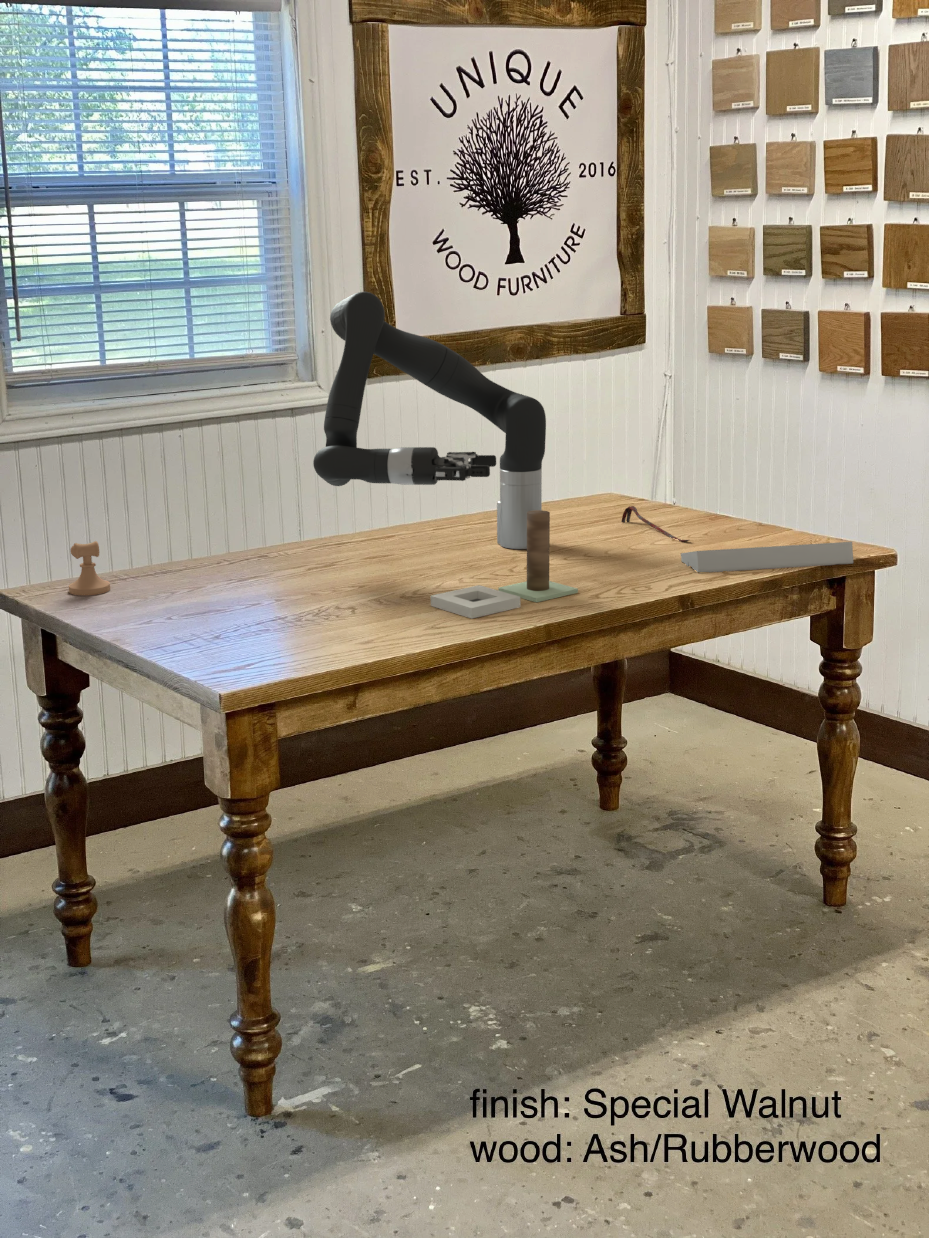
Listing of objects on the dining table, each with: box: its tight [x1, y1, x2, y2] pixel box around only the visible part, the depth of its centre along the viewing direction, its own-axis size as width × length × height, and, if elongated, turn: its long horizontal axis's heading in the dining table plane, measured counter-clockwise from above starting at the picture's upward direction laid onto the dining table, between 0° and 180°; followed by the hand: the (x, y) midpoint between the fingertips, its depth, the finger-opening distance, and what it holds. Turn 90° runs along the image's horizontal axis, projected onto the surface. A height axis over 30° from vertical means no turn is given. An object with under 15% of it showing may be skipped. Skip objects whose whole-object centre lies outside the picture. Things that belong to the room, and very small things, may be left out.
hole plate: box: [430, 584, 521, 620], centre depth 274 cm, size 12×12×2 cm
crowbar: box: [621, 505, 690, 543], centre depth 335 cm, size 26×2×5 cm, turn 26°
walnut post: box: [526, 509, 551, 591], centre depth 281 cm, size 4×4×15 cm
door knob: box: [68, 540, 111, 596], centre depth 288 cm, size 8×10×8 cm
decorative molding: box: [680, 541, 854, 573], centre depth 305 cm, size 34×5×10 cm
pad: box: [497, 580, 579, 603], centre depth 283 cm, size 11×11×1 cm
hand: (492, 466), depth 290 cm, fingers open, 8 cm apart
